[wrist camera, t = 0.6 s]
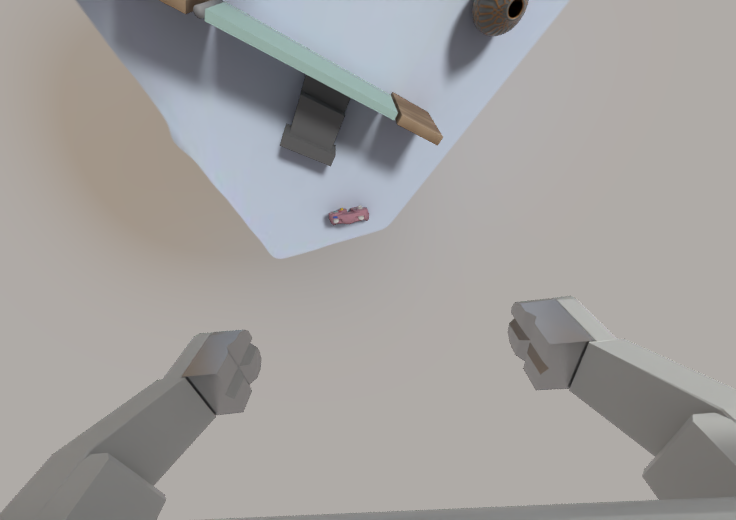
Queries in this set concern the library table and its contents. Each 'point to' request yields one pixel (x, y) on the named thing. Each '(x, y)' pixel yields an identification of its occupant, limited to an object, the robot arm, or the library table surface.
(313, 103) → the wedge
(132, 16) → the library table surface
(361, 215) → the video game controller
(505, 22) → the vase
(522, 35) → the library table surface
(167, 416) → the robot arm
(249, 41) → the green long flat panel
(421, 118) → the wall
